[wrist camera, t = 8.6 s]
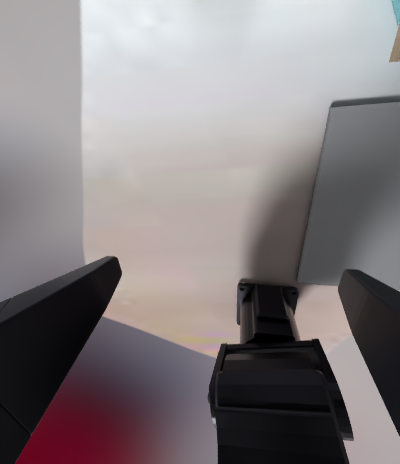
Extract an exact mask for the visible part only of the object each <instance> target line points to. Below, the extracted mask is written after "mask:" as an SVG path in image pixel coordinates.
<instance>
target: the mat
mask: <svg viewBox="0 0 400 464" xmlns="http://www.w3.org/2000/svg"><path fill="white" fill-rule="evenodd" d="M345 269H357V270H360V271H362V272H364V273H366V274H368V275H370V276H371V277H373V278H375V279H377V280H379V281H381V282H383V283H384V284H386V285H388V286H390V287H392V288H394V289H395V290H400V102H390V103H378V104H366V105H354V106H343V107H331V108H330V109H329V114H328V119H327V124H326V130H325V135H324V140H323V145H322V151H321V156H320V161H319V166H318V171H317V177H316V182H315V187H314V192H313V198H312V203H311V208H310V213H309V219H308V224H307V229H306V234H305V239H304V245H303V250H302V255H301V260H300V266H299V271H298V276H297V283H302V284H317V285H331V286H339V283H340V280H341V277H342V273H343V271H344V270H345Z"/></svg>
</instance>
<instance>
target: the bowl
mask: <svg viewBox="0 0 400 464" xmlns="http://www.w3.org/2000/svg"><path fill="white" fill-rule="evenodd" d="M392 4H393V8H394V12H395V16H396V20H397V25H399V24H400V0H392Z"/></svg>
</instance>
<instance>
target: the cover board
mask: <svg viewBox="0 0 400 464" xmlns="http://www.w3.org/2000/svg"><path fill="white" fill-rule="evenodd" d="M397 61H400V24H399V28H398V32H397V35H396V39H395V42H394V46H393V50H392V53H391V57H390V60H389V62H397Z"/></svg>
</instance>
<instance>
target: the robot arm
mask: <svg viewBox="0 0 400 464" xmlns="http://www.w3.org/2000/svg"><path fill="white" fill-rule="evenodd" d="M121 275H122V271H121V267H120V264H119V261H118V258H117V257H115V256H106V257H104V258H102V259H99V260H97V261H95V262H92V263H90V264H88V265H85V266H83V267H81V268H79V269H76V270H74V271H72V272H69V273H67V274H65V275H62V276H60V277H58V278H55V279H53V280H51V281H49V282H46V283H44V284H42V285H40V286H37V287H35V288H32V289H30V290H28V291H25V292H23V293H21V294H19V295H16V296H14V297H13V298H9V299H7V300H4V301H2V302H0V464H15V463H16V461H17V459H18V458H19V456H20V454H21V453H22V451H23V449H24V447H25V445H26V444H27V442H28V441H29V439H30V437H31V434H32V433H33V432H34V430H35V428H36V426H37V425H38V423H39V422H40V420H41V418H42V417H43V415H44V413H45V412H46V410H47V408H48V406H49V405H50V403H51V401H52V400H53V398H54V396H55V395H56V393H57V391H58V390H59V387H60V386H61V384H62V383H63V381H64V379H65V377H66V376H67V374H68V372H69V371H70V369H71V367H72V366H73V364H74V362H75V361H76V359H77V357H78V355H79V354H80V352H81V351H82V349H83V347H84V345H85V344H86V342H87V340H88V339H89V337H90V335H91V334H92V332H93V330H94V328H95V327H96V325H97V323H98V322H99V320H100V318H101V317H102V315H103V313H104V312H105V310H106V308H107V306H108V304H109V302H110V300H111V298H112V296H113V293H114V291H115V289H116V287H117V285H118V283H119V281H120V278H121ZM293 291H294V292H293ZM338 292H339V296H340V299H341V302H342V305H343V308H344V311H345V314H346V317H347V320H348V323H349V326H350V329H351V331H352V334H353V336H354V338H355V341H356V343H357V345H358V347H359V349H360V351H361V354H362V356H363V358H364V360H365V362H366V365H367V367H368V369H369V371H370V373H371V375H372V377H373V380H374V382H375V384H376V386H377V388H378V391H379V393H380V395H381V397H382V399H383V401H384V403H385V406H386V408H387V410H388V412H389V414H390V416H391V419H392V421H393V423H394V425H395V427H396V430H397V432H398V434H399V436H400V292H399V291H397V290H395V289H394V288H392V287H390V286H388V285H386V284H384V283H383V282H381V281H379V280H377V279H375V278H373V277H371V276H370V275H368V274H366V273H364V272H362V271H360V270H357V269H345V270H344V271H343V273H342V277H341V280H340V283H339V286H338ZM298 295H299V292H298V289H297V288H295V287H284V286H270V285H256V284H239V285H238V288H237V324H238V325H240V344H227V343H226V344H221V347H220V350H219V353H218V356H217V360H216V363H215V367H214V371H213V374H212V378H211V381H210V385H209V393H208V402H209V403H210V408H211V415H212V420H213V424H214V426H215V428H216V429H217V441H218V464H349V460H348V457H347V453H346V449H345V446H344V442H343V440H349V441H353V440H354V438H353V432H352V427H351V424H350V420H349V417H348V413H347V410H346V406H345V403H344V400H343V397H342V394H341V391H340V389H339V386H338V384H337V381H336V378H335V376H334V374H333V371H332V369H331V367H330V364H329V362H328V360H327V358H326V355H325V353H324V351H323V348H322V346H321V344H320V341H319V339H312V340H305V341H301V340H300V337H299V333H298V330H297V326H296V322H295V319H294V314H295V309H296V304H297V299H298Z"/></svg>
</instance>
